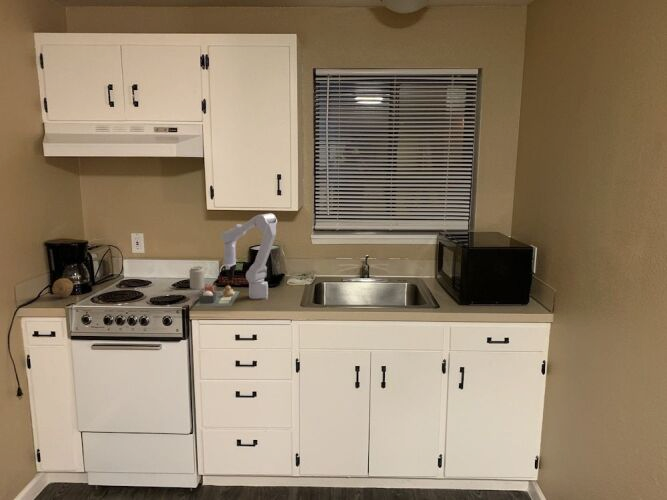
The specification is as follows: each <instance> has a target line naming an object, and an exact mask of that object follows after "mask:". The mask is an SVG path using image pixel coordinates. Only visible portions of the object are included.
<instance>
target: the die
mask: <svg viewBox="0 0 667 500" xmlns="http://www.w3.org/2000/svg"><path fill="white" fill-rule="evenodd" d="M205 291H211V292H214V291H215V285H214V284H209V285H208V284H206V285H204V292H205Z"/></svg>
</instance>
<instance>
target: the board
mask: <svg viewBox="0 0 667 500" xmlns="http://www.w3.org/2000/svg"><path fill="white" fill-rule="evenodd" d="M204 292H205V291H202V292H201V294H199V299H198V301H197V302H196V303H195V304H194V306H195V307H231V306H232V305H233V303H234V302H235V300H236V299H237V297H238V296H239V293H240V291H238V290H235V291H234V290H233V296H232V297H224V296H223V290H214V292H212V293H213V296H203V293H204Z"/></svg>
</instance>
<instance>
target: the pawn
mask: <svg viewBox="0 0 667 500" xmlns="http://www.w3.org/2000/svg"><path fill="white" fill-rule="evenodd" d="M222 291H223V296H224V297H232V296H233V291H234V289H233V288H232V287H231V286H230V285H226V286H225V287H224V289H222Z"/></svg>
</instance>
